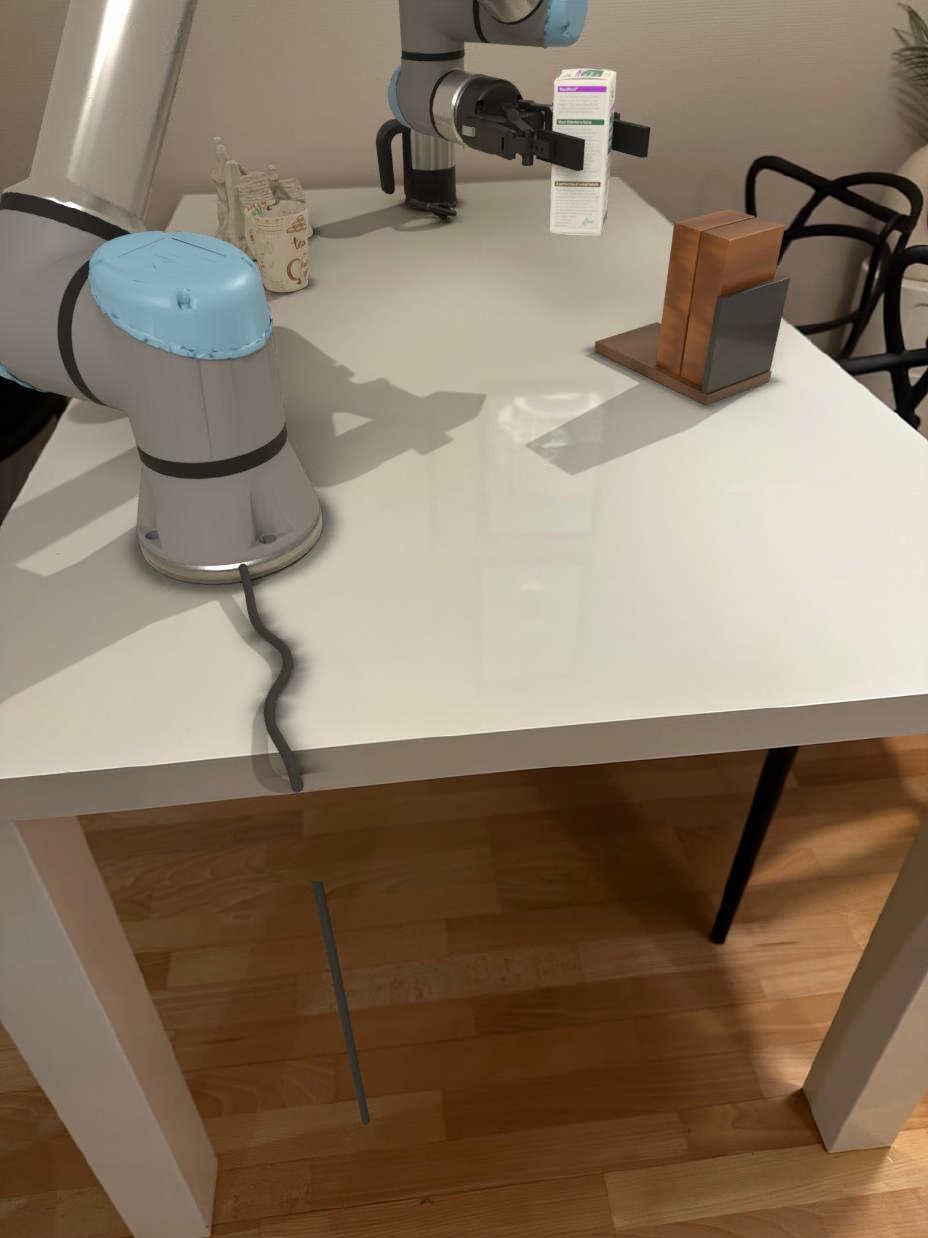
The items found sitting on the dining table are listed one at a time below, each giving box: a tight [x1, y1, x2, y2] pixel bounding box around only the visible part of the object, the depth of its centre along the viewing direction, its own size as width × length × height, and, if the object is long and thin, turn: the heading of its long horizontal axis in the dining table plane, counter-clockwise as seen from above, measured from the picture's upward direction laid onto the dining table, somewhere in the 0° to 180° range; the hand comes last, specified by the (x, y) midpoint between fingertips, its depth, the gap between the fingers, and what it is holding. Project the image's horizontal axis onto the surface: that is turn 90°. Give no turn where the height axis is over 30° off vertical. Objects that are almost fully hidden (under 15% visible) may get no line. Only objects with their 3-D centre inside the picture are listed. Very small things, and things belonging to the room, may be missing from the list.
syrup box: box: [549, 67, 617, 237], centre depth 92 cm, size 6×6×14 cm
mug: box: [244, 200, 309, 293], centre depth 122 cm, size 8×13×10 cm, turn 47°
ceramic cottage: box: [210, 136, 314, 261], centre depth 136 cm, size 16×16×15 cm
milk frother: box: [375, 118, 459, 221], centre depth 147 cm, size 14×16×15 cm
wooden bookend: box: [594, 208, 791, 406], centre depth 97 cm, size 18×10×16 cm, turn 35°
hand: (614, 148), depth 88 cm, fingers closed on syrup box, 8 cm apart
